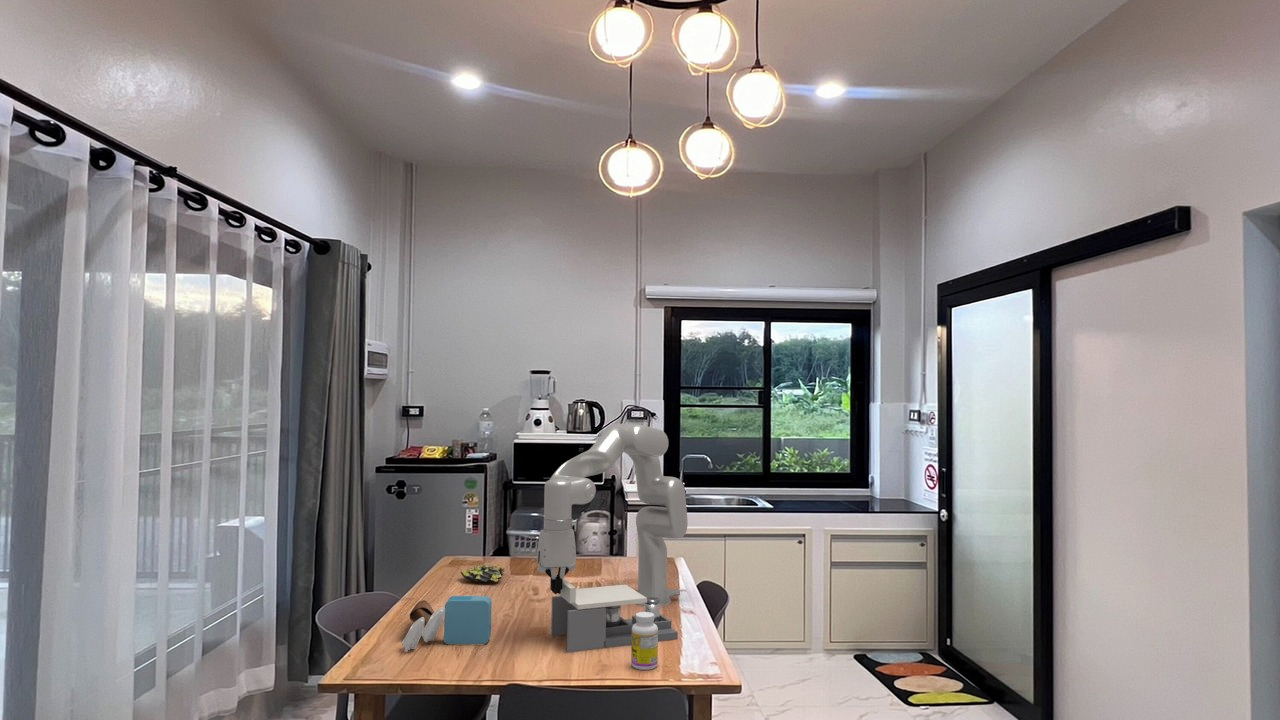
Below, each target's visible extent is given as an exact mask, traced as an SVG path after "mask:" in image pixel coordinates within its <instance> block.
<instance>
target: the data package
mask: <svg viewBox="0 0 1280 720" xmlns="http://www.w3.org/2000/svg"><path fill="white" fill-rule="evenodd" d="M492 602H493V601H492V599H491V597H489V596H487V595H485V596H484V595H483V596H482V595H453V596H450V597H449V598H448V600H447V601H446V602H445V604H444V616H443V641H444V643H445V644H446V645H447V644H476V645H475V646H478V645H477V644H485V645H487V644H488V642H489V641H490V638H491V636H492V605H493V604H492Z"/></svg>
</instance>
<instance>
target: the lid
mask: <svg viewBox="0 0 1280 720" xmlns="http://www.w3.org/2000/svg"><path fill="white" fill-rule="evenodd" d="M558 596H562V597H563V598H564V599H565V600H566V601H568V602H569V603H570V604H572V605H573V606H574V607H575V608H577V609H589V608H598V607H608V606H618V605H621V606H627V605H637V604H638V603H647V598H646V597H645V596H643V595H641V594H640V593H638V590H637V591H636V590H635V589H633V588H632V587H630V586H629V585H627V584H619V585H618V584H617V585H616V584H615V585H605V586H594V587H593V586H592V587H583V588H582V587H581V588H576V586H574V585H573V584H572V583H570V582H569V581H568V580H566V579H565V577H564V578H563V585H562V590H561V594H558Z"/></svg>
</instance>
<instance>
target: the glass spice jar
mask: <svg viewBox="0 0 1280 720" xmlns="http://www.w3.org/2000/svg"><path fill="white" fill-rule="evenodd" d="M621 607H622V605H618V606H608V607H606V628H607V627H616V626H620V617H621V609H622V608H621Z"/></svg>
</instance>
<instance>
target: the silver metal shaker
mask: <svg viewBox="0 0 1280 720" xmlns="http://www.w3.org/2000/svg"><path fill="white" fill-rule="evenodd" d="M643 608H644V610H643V612H651V613H653V614H654V621H653V622H660V614H661V613H660V612H661V610H660V608H661V607H660V599H659V598H656V597H648V598H647V603H644V606H643Z"/></svg>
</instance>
